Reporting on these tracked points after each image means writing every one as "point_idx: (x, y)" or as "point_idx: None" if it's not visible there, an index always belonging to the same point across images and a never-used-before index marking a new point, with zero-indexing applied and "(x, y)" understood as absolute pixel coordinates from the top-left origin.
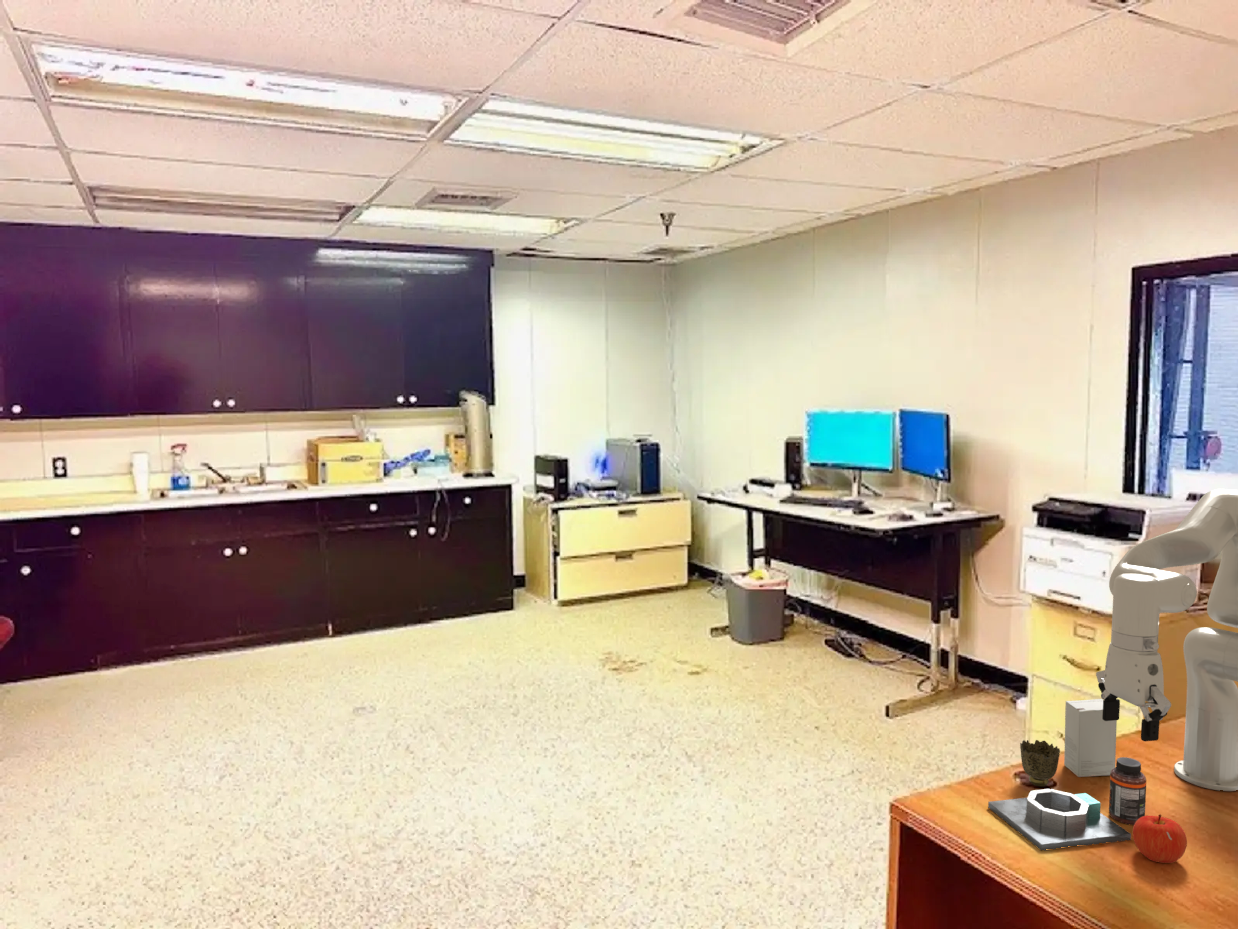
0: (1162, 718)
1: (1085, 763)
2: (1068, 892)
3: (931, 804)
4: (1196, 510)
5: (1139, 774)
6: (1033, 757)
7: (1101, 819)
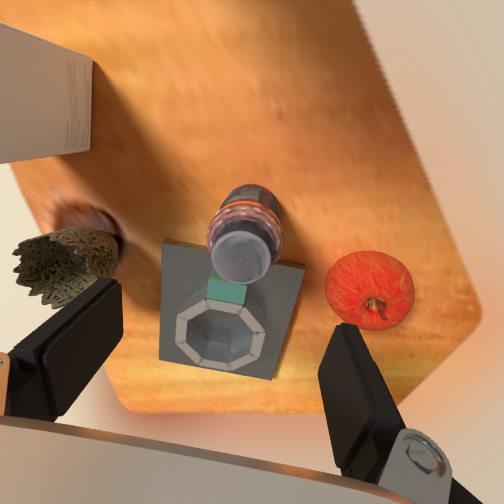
0: (444, 457)
1: (70, 139)
2: None
3: (139, 393)
4: None
5: (270, 242)
6: None
7: None
